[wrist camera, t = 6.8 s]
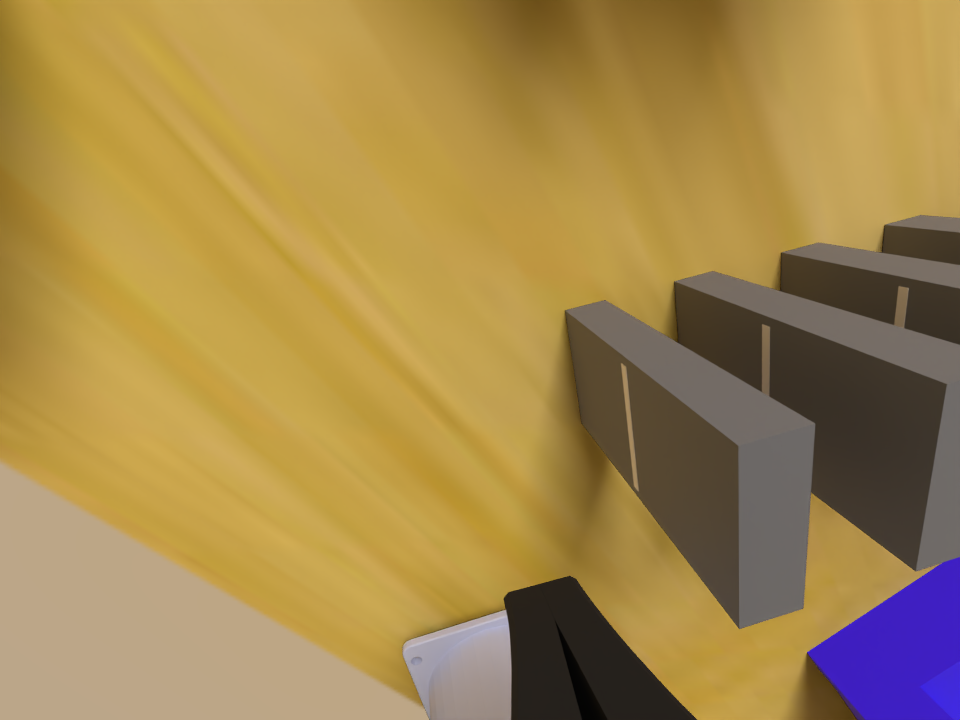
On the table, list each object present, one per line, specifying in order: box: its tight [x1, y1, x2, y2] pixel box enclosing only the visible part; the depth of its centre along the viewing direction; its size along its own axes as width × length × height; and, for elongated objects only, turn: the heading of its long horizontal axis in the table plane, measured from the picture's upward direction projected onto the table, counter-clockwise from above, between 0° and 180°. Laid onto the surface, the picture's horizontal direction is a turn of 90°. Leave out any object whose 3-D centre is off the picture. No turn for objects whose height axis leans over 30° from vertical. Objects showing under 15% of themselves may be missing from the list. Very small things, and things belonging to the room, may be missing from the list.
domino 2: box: [781, 243, 960, 345], centre depth 16 cm, size 5×2×10 cm, turn 13°
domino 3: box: [674, 271, 960, 571], centre depth 15 cm, size 5×2×10 cm, turn 13°
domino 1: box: [565, 300, 815, 629], centre depth 15 cm, size 5×2×10 cm, turn 12°
